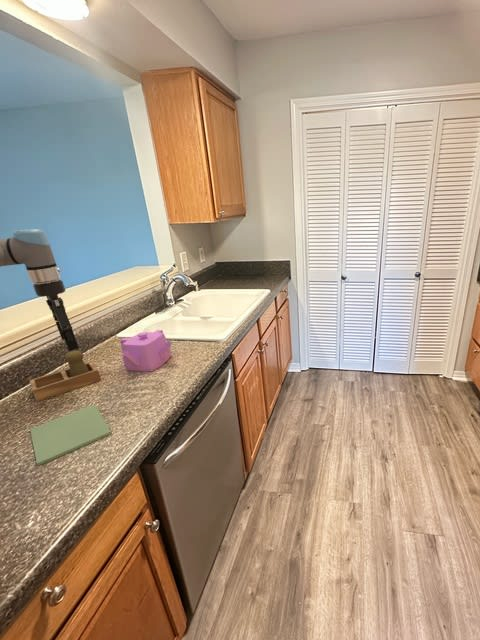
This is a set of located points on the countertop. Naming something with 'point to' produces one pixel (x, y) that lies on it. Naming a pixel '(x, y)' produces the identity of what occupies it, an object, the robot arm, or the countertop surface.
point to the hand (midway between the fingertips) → (70, 343)
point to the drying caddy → (62, 382)
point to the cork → (76, 363)
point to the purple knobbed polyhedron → (145, 351)
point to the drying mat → (68, 433)
